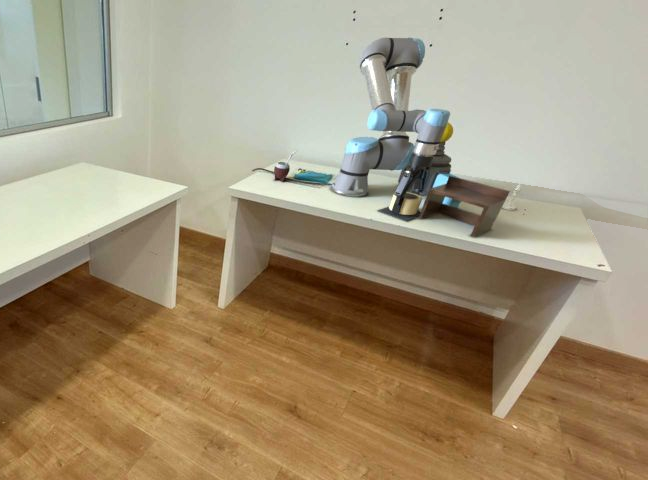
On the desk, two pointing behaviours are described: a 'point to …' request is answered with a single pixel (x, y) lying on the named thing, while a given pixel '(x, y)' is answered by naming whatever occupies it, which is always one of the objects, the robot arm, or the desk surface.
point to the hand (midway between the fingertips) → (402, 209)
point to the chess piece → (511, 200)
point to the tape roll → (408, 203)
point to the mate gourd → (282, 169)
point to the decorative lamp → (435, 163)
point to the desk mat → (399, 216)
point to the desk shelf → (468, 193)
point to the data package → (442, 180)
